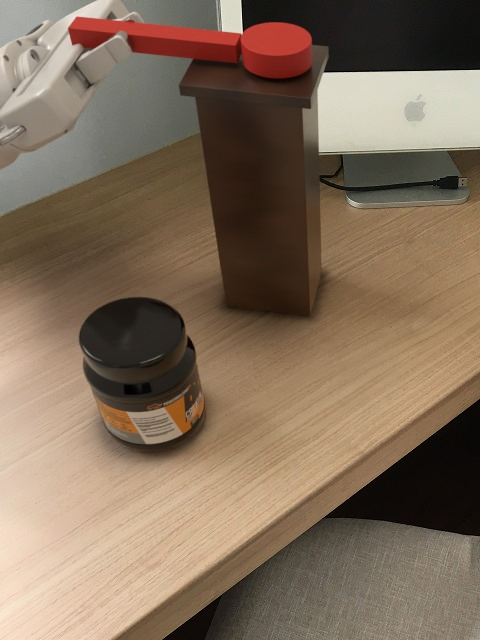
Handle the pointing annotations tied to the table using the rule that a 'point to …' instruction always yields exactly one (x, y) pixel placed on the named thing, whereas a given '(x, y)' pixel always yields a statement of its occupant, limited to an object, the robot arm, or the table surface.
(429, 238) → the table surface
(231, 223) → the walnut stand
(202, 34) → the red serving spoon
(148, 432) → the supplement container
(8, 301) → the table surface
